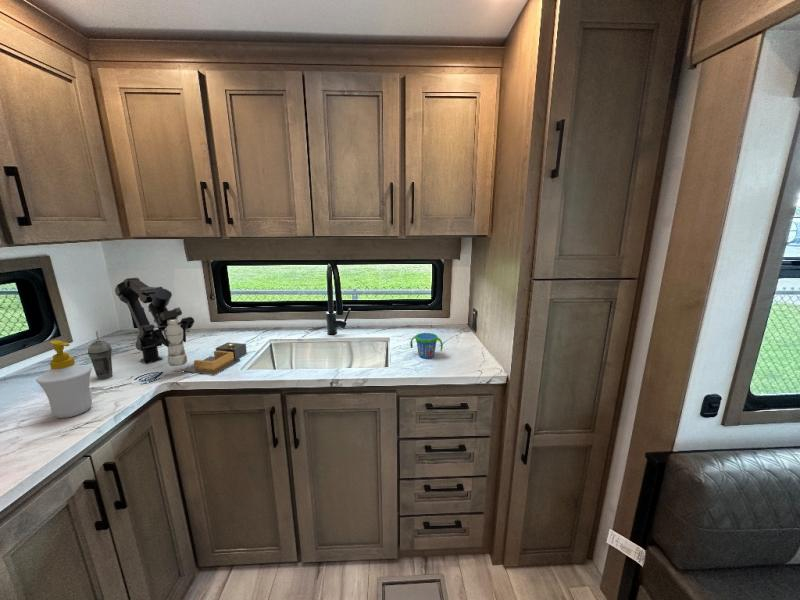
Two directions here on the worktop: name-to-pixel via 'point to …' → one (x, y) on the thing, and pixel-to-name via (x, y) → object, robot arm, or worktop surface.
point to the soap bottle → (66, 384)
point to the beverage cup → (101, 358)
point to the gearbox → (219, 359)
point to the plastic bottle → (175, 343)
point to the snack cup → (426, 344)
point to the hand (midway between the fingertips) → (176, 344)
